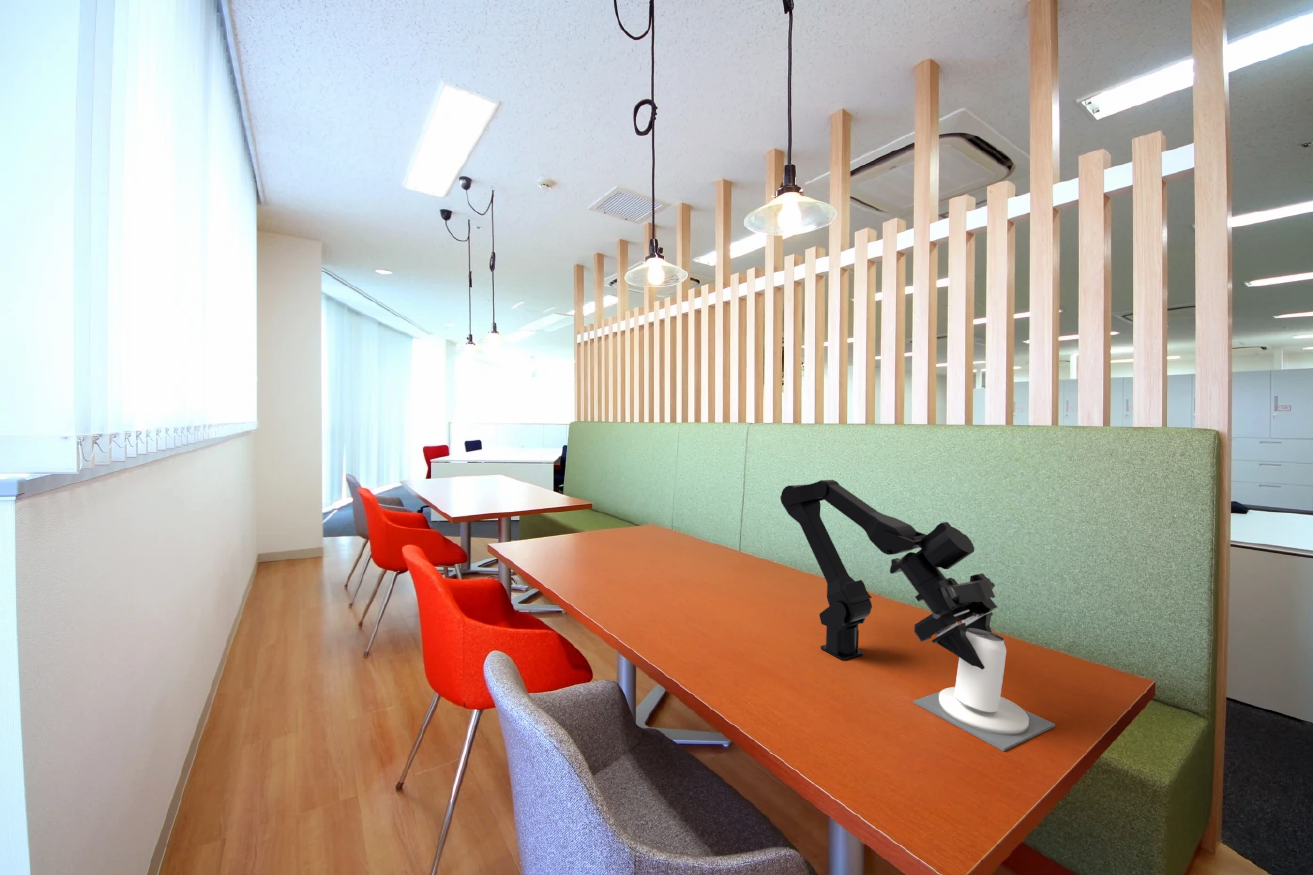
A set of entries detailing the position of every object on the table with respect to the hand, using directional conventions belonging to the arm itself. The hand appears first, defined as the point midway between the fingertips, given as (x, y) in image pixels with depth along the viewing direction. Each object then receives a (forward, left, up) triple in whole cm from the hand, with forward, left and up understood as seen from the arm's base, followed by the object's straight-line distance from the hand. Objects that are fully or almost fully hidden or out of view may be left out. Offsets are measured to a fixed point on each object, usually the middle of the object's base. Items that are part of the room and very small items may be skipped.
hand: (991, 664), depth 86 cm
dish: (0, +1, -9) cm, 9 cm away
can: (-2, +1, -7) cm, 8 cm away
